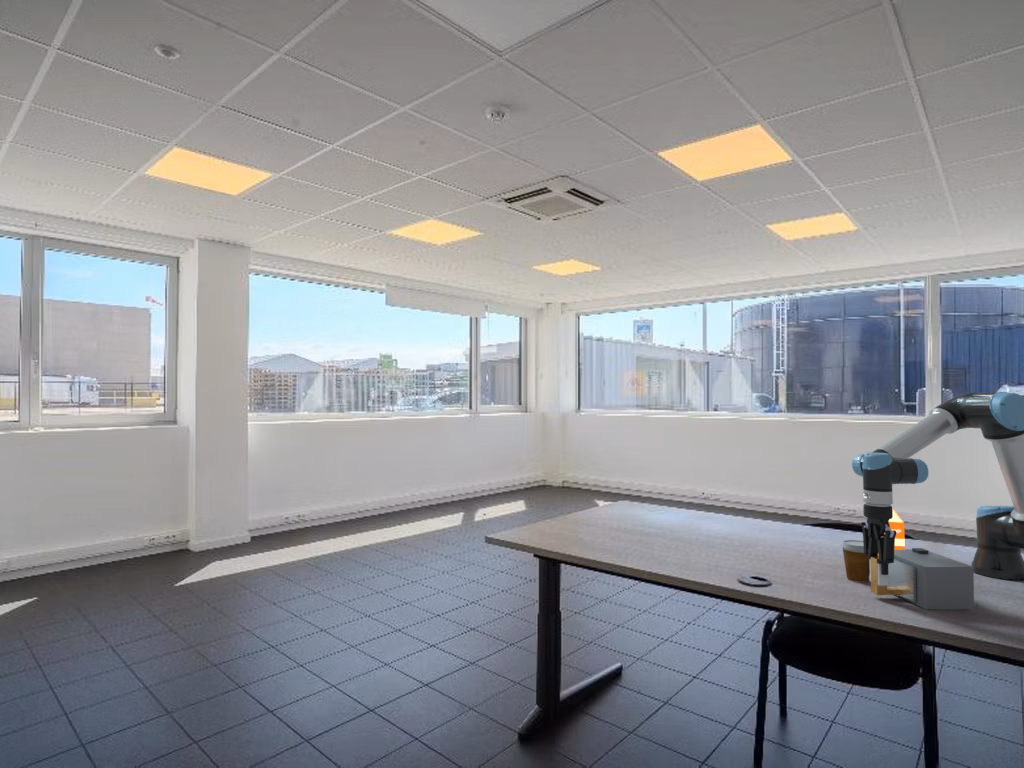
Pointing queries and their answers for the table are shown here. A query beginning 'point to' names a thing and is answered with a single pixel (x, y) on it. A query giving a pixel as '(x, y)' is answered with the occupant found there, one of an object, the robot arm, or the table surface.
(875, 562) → the side cover
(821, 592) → the table surface
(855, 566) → the disposable coffee cup
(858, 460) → the robot arm
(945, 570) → the open-sided grey enclosure
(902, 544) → the orange juice
